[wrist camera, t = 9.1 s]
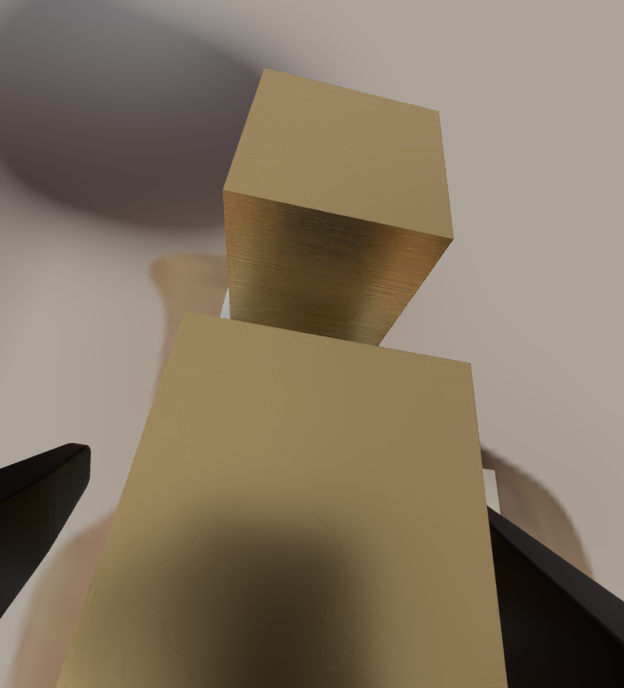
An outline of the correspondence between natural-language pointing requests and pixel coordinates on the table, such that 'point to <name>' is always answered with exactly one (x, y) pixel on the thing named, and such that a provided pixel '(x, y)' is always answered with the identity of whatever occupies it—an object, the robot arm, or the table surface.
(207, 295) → the table surface
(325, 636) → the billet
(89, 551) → the table surface
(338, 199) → the seated billet
